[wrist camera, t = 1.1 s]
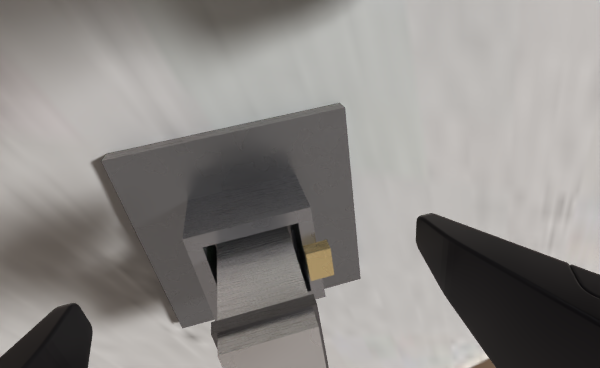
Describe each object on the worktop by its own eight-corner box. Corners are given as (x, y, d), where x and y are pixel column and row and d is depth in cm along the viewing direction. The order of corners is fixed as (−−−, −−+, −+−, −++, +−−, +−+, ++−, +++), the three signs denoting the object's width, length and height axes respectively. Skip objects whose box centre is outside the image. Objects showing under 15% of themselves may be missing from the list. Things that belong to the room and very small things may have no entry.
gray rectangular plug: (281, 196, 22) (322, 321, 14) (292, 249, 24) (334, 386, 16) (212, 213, 22) (210, 354, 13) (230, 265, 24) (238, 416, 15)
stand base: (339, 102, 21) (377, 134, 16) (356, 270, 28) (386, 328, 23) (106, 154, 20) (69, 206, 15) (183, 317, 27) (176, 391, 22)
